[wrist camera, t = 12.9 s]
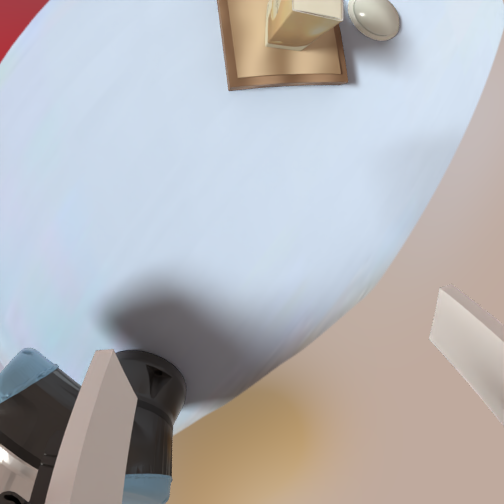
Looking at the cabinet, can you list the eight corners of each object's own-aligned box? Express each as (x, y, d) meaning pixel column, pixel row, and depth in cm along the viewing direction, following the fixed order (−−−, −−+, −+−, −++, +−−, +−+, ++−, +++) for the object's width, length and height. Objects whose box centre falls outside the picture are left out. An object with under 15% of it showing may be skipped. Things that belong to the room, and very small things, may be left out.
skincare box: (266, 3, 26) (292, -48, 15) (303, 8, 27) (342, -37, 16) (264, 49, 29) (291, 10, 17) (301, 54, 29) (345, 21, 18)
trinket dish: (352, 38, 32) (358, 35, 30) (341, -10, 29) (346, -14, 27) (400, 44, 32) (407, 41, 31) (389, -2, 29) (395, -6, 28)
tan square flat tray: (228, 91, 33) (230, 87, 30) (216, -7, 27) (216, -17, 25) (339, 85, 34) (349, 81, 31) (323, -8, 28) (331, -16, 26)
